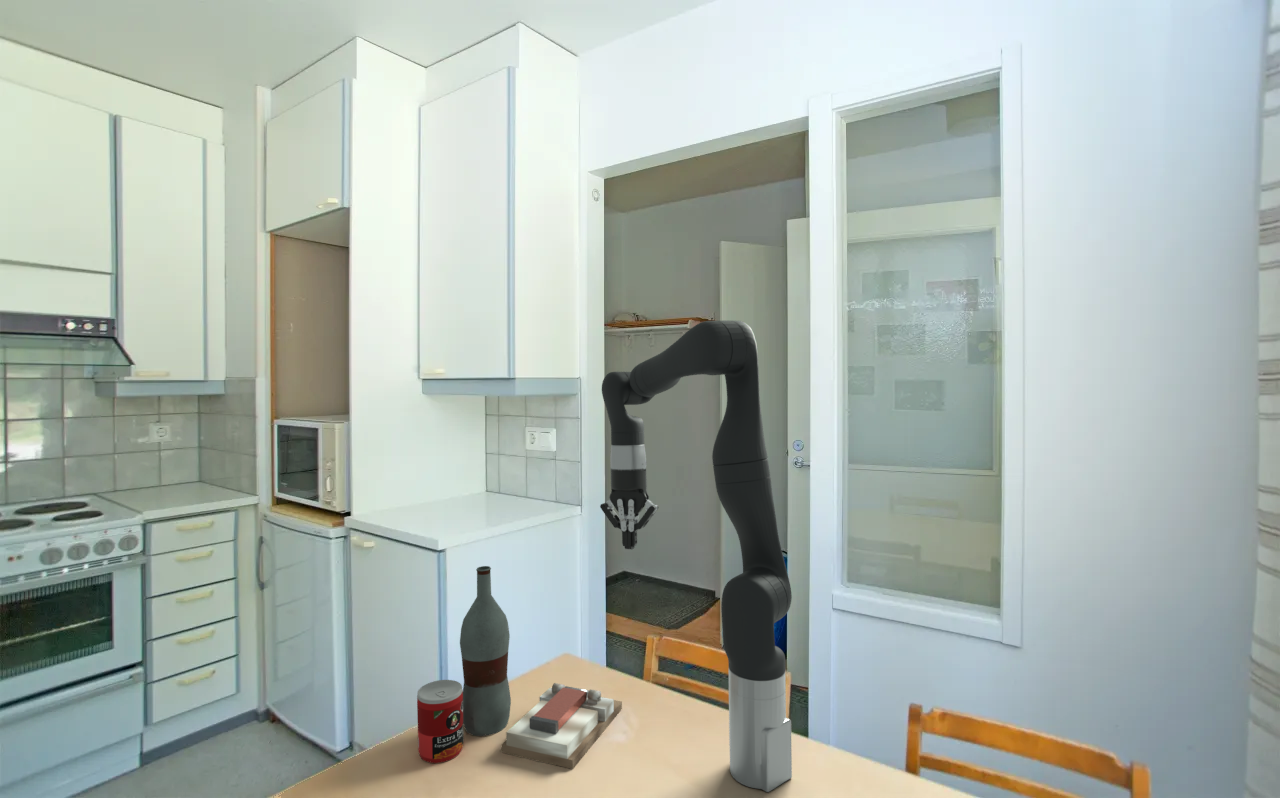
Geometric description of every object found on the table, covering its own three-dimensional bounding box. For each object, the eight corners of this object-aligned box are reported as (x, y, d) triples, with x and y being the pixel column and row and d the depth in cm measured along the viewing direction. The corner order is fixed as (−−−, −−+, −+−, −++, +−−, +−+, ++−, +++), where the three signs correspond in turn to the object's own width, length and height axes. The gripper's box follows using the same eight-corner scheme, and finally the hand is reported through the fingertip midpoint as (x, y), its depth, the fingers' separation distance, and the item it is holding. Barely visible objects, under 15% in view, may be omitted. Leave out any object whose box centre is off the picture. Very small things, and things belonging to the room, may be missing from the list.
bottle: (488, 707, 126) (485, 558, 126) (521, 720, 121) (518, 565, 121) (450, 729, 118) (447, 570, 118) (485, 743, 113) (481, 577, 113)
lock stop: (565, 683, 123) (529, 718, 111) (589, 687, 121) (555, 723, 109) (566, 692, 123) (529, 728, 111) (589, 697, 121) (555, 734, 109)
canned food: (436, 769, 106) (434, 704, 105) (408, 753, 110) (407, 691, 110) (473, 748, 112) (472, 687, 112) (445, 734, 117) (444, 675, 116)
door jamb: (559, 697, 130) (559, 669, 130) (621, 709, 125) (621, 679, 125) (501, 752, 110) (501, 719, 110) (572, 769, 105) (572, 734, 105)
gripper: (592, 467, 131) (593, 550, 131) (651, 468, 127) (653, 554, 126) (607, 464, 138) (608, 543, 138) (663, 465, 133) (665, 546, 133)
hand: (630, 548), depth 132 cm, fingers closed
